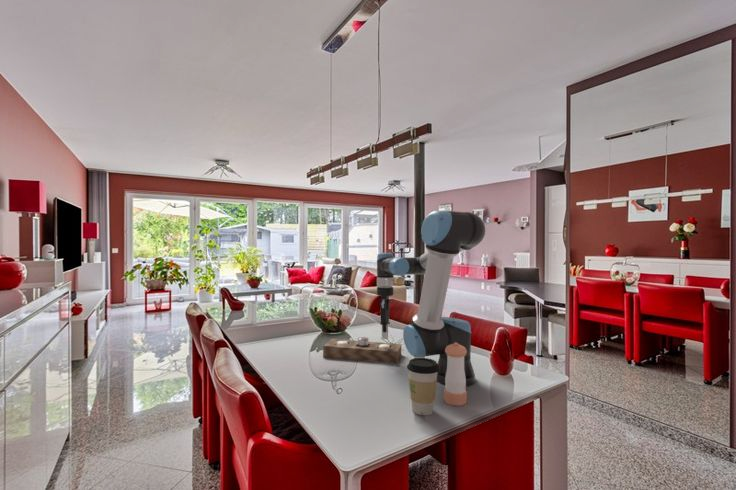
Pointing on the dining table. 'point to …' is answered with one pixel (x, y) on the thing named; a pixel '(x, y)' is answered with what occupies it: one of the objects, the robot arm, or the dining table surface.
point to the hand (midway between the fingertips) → (384, 338)
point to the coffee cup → (422, 384)
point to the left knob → (342, 343)
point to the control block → (362, 351)
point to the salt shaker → (455, 375)
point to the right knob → (384, 346)
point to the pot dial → (363, 342)
